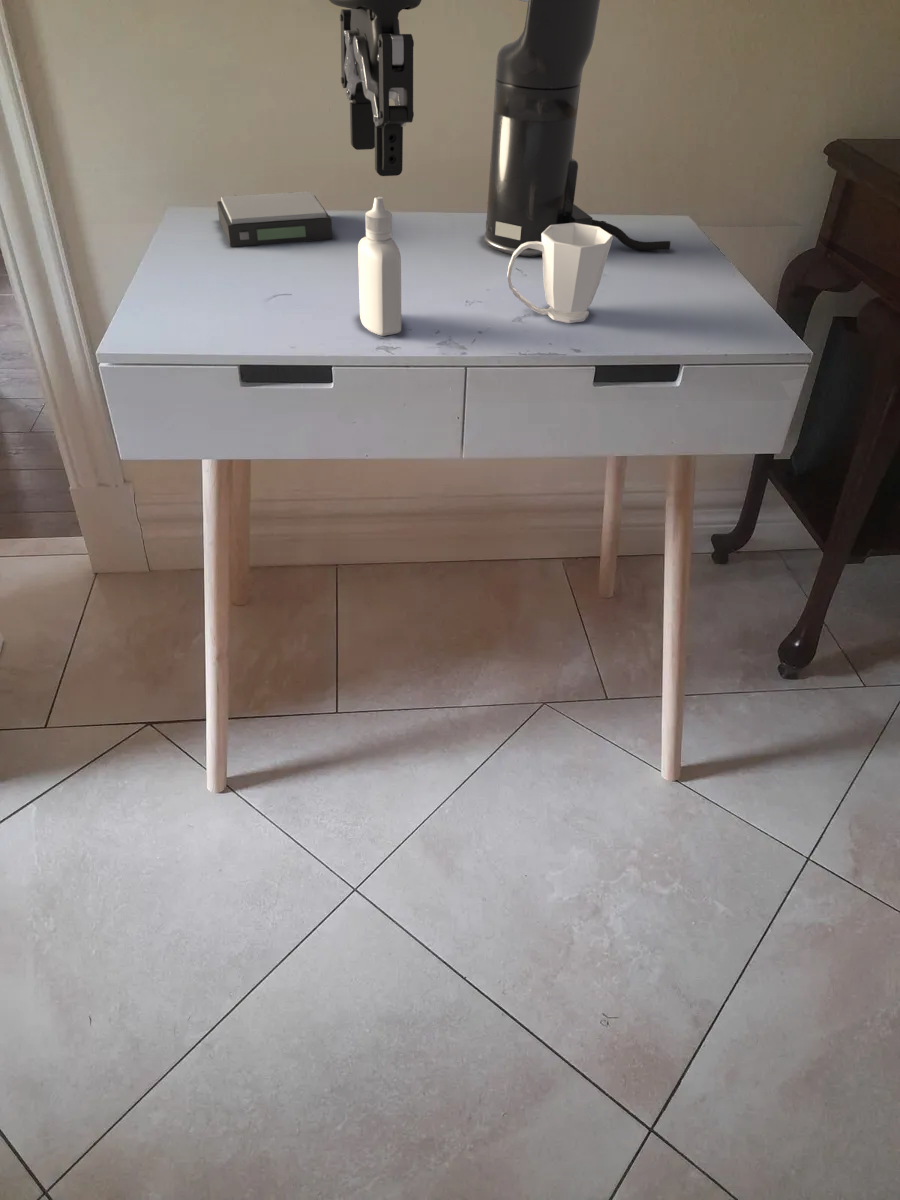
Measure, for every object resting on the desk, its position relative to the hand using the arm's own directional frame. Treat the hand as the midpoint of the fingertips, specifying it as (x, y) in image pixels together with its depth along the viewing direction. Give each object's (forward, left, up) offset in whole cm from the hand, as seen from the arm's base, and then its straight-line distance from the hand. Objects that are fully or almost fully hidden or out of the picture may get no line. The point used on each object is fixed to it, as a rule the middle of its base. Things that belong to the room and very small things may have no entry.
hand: (375, 161), depth 78 cm
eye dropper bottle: (0, 0, -15) cm, 15 cm away
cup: (-18, +2, -15) cm, 24 cm away
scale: (+5, -29, -15) cm, 33 cm away
